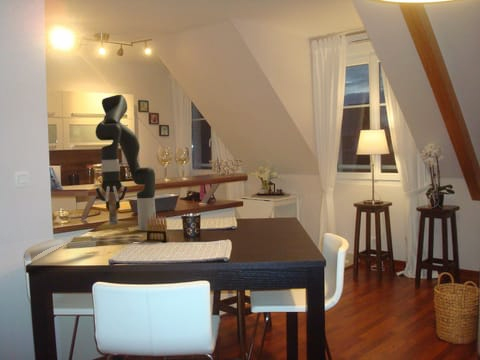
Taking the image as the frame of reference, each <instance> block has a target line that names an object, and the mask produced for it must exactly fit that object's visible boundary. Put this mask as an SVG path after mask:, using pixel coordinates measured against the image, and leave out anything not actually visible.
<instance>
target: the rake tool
mask: <svg viewBox="0 0 480 360" xmlns="http://www.w3.org/2000/svg"><path fill="white" fill-rule="evenodd" d="M108 198H109V211H108V213H109V215H108V218H109V219H108V220H109V226H116V225H118V224H119V218H118V216H119V215H118V210H116V196H115V194H114V192H109V197H108Z"/></svg>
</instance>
